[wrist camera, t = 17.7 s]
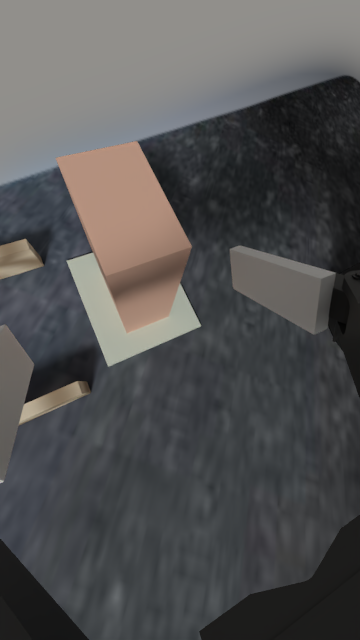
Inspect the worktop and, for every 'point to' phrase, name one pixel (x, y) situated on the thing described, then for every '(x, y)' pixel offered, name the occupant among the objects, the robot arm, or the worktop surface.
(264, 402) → the worktop surface
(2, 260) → the birch bay
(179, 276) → the peach block
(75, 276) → the sage mat
